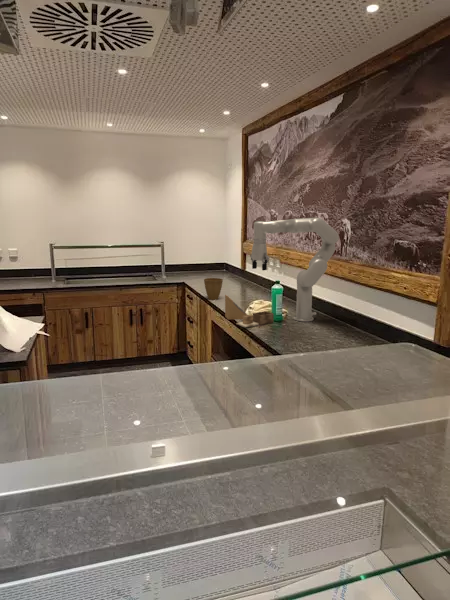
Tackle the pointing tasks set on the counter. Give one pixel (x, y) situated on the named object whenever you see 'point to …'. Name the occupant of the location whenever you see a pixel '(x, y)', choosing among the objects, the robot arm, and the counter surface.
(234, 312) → the sandwich container
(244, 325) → the lid
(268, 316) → the box
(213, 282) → the plant pot
